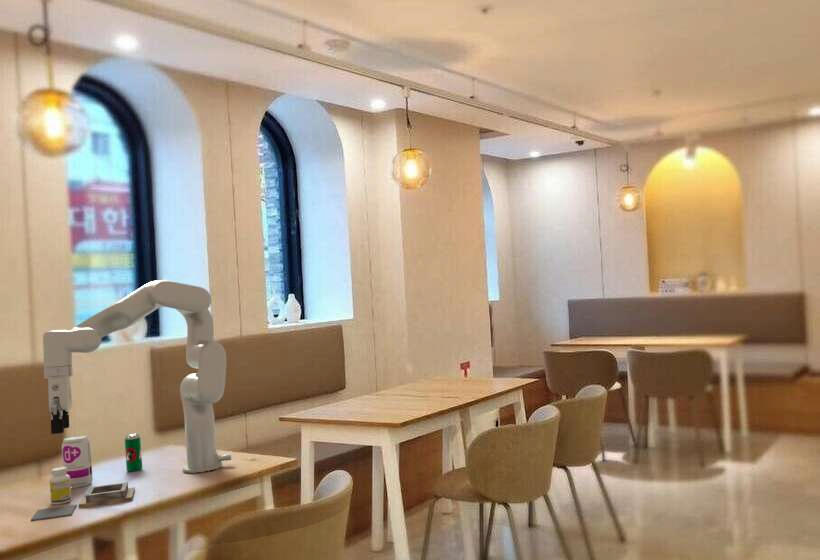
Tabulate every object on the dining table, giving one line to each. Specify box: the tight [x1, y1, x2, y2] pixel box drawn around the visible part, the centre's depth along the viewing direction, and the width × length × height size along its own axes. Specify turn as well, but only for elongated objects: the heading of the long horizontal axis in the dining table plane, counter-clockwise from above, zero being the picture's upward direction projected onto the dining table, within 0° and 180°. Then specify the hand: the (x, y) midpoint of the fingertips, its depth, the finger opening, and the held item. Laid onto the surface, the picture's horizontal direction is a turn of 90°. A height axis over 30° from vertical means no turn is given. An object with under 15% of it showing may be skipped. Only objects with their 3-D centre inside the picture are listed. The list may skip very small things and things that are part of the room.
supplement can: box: [61, 435, 93, 489], centre depth 239 cm, size 8×8×15 cm
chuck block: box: [78, 481, 136, 509], centre depth 219 cm, size 14×12×3 cm
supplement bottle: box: [49, 466, 72, 505], centre depth 219 cm, size 5×5×10 cm
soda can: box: [124, 433, 143, 473], centre depth 254 cm, size 5×5×12 cm
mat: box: [30, 504, 78, 522], centre depth 207 cm, size 10×10×1 cm
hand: (60, 430), depth 220 cm, fingers open, 9 cm apart
